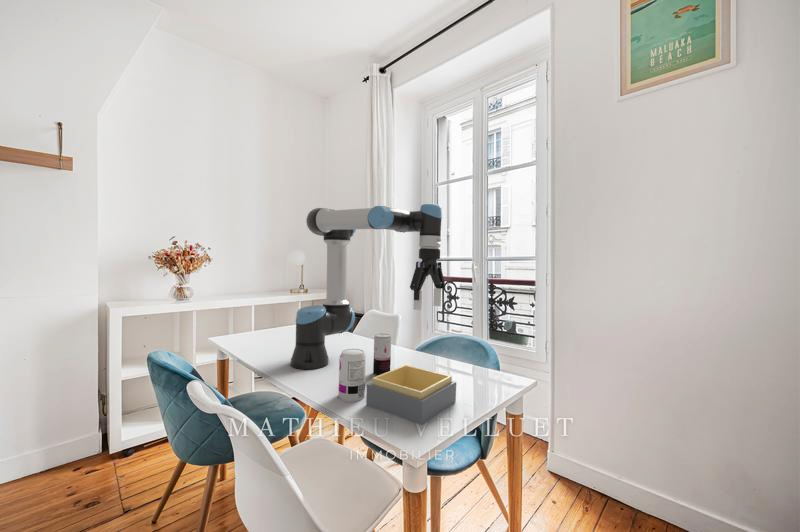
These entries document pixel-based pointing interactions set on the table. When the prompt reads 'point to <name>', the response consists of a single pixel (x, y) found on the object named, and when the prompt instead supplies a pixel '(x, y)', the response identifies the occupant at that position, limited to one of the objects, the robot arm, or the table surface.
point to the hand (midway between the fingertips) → (427, 307)
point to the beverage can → (382, 353)
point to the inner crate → (412, 381)
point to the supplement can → (352, 375)
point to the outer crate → (411, 402)
